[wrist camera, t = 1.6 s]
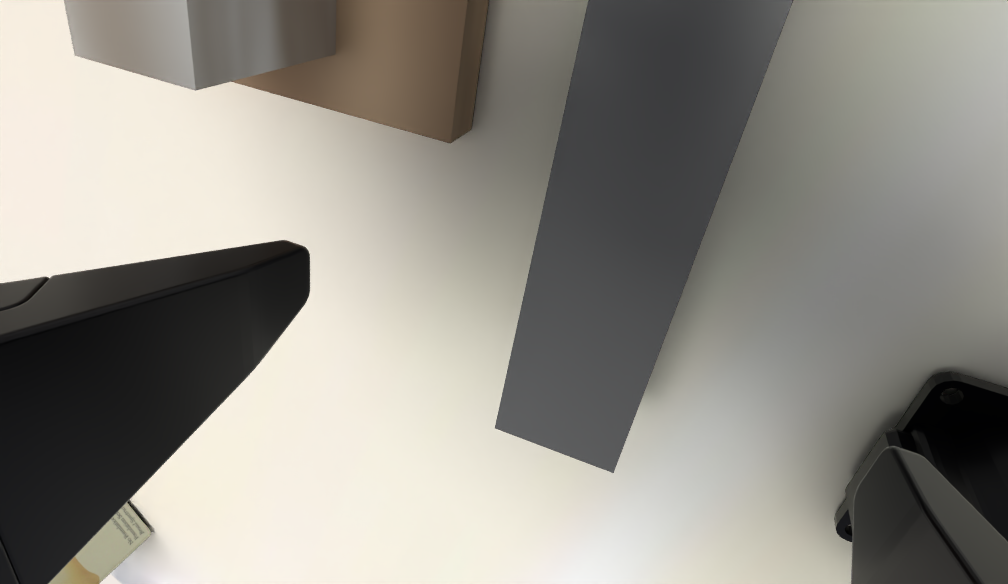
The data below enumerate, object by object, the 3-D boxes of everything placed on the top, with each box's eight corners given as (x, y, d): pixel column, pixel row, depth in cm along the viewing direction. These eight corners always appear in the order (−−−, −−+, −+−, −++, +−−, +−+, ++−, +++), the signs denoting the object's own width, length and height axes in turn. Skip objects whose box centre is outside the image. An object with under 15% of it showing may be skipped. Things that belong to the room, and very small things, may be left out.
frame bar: (821, -119, 13) (847, -142, 10) (634, 387, 20) (613, 472, 17) (656, -148, 14) (627, -178, 10) (534, 352, 21) (494, 428, 18)
